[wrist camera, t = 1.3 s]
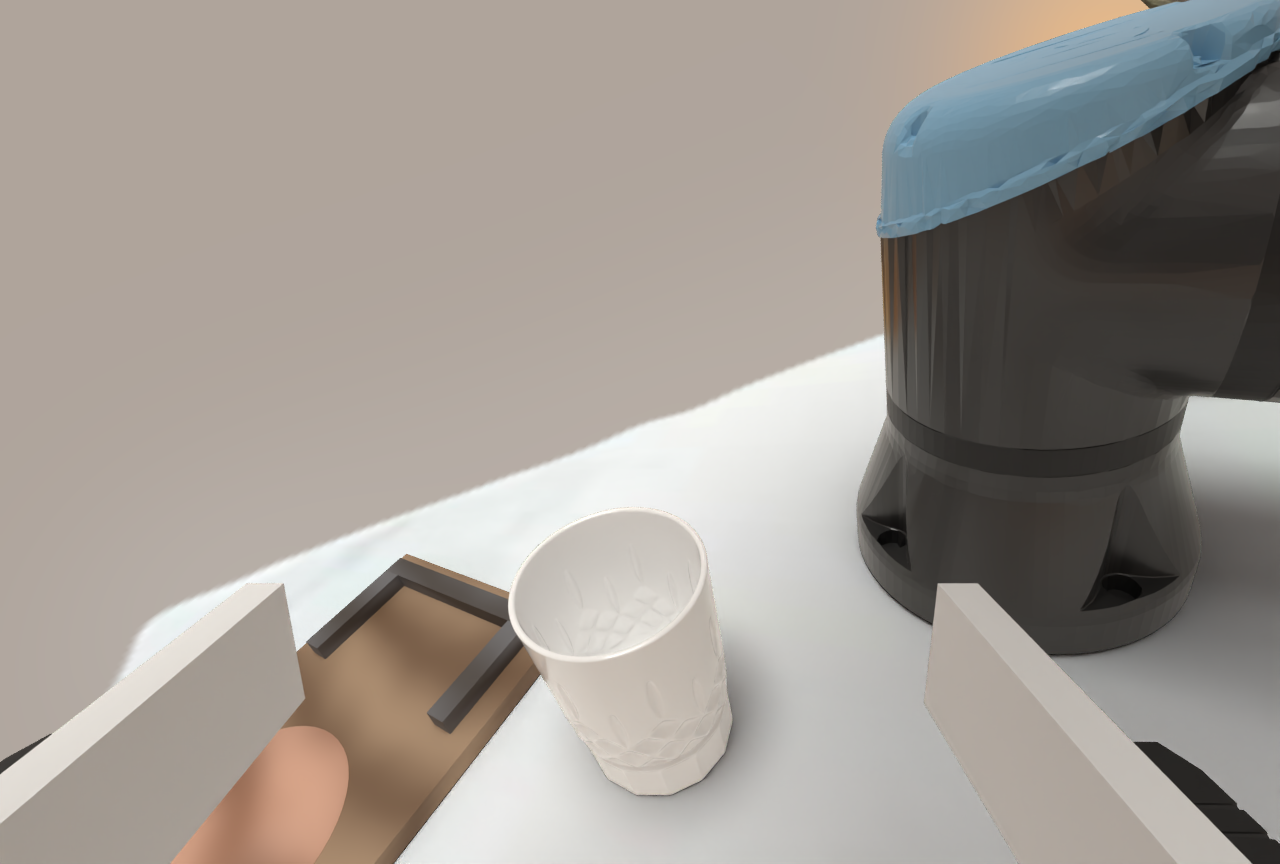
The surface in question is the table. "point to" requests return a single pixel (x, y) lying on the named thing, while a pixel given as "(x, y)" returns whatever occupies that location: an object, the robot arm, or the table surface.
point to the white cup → (629, 644)
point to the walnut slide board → (376, 724)
